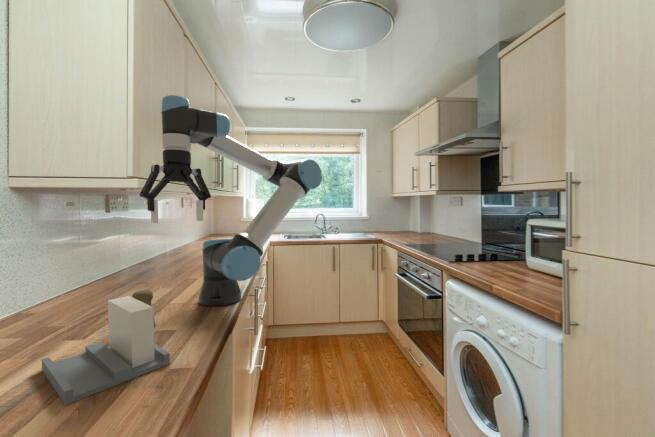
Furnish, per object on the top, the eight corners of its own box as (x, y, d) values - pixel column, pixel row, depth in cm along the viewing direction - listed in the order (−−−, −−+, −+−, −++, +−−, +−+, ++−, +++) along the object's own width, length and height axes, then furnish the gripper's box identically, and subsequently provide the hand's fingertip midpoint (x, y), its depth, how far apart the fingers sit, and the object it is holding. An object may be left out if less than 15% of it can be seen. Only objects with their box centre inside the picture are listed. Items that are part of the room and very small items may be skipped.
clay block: (130, 342, 78) (128, 295, 78) (154, 359, 70) (153, 307, 69) (109, 349, 75) (107, 300, 74) (132, 368, 66) (130, 312, 66)
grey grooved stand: (135, 340, 82) (135, 331, 81) (169, 363, 70) (169, 352, 70) (42, 370, 67) (41, 359, 67) (65, 405, 55) (64, 391, 55)
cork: (150, 322, 94) (149, 287, 94) (159, 327, 90) (158, 290, 90) (128, 328, 90) (126, 291, 89) (136, 334, 86) (134, 295, 85)
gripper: (208, 156, 104) (209, 219, 105) (124, 145, 85) (127, 223, 86) (221, 154, 100) (222, 220, 101) (135, 142, 80) (138, 224, 81)
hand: (178, 221), depth 93 cm, fingers open, 13 cm apart
